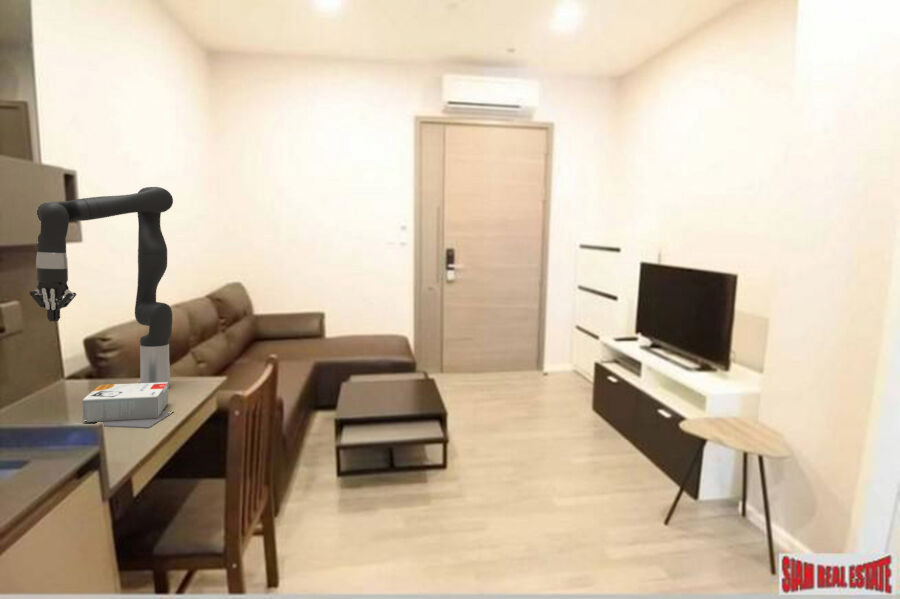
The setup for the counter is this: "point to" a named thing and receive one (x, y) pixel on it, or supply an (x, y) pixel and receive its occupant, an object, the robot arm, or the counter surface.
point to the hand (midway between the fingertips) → (53, 321)
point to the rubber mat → (136, 422)
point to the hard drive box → (125, 402)
